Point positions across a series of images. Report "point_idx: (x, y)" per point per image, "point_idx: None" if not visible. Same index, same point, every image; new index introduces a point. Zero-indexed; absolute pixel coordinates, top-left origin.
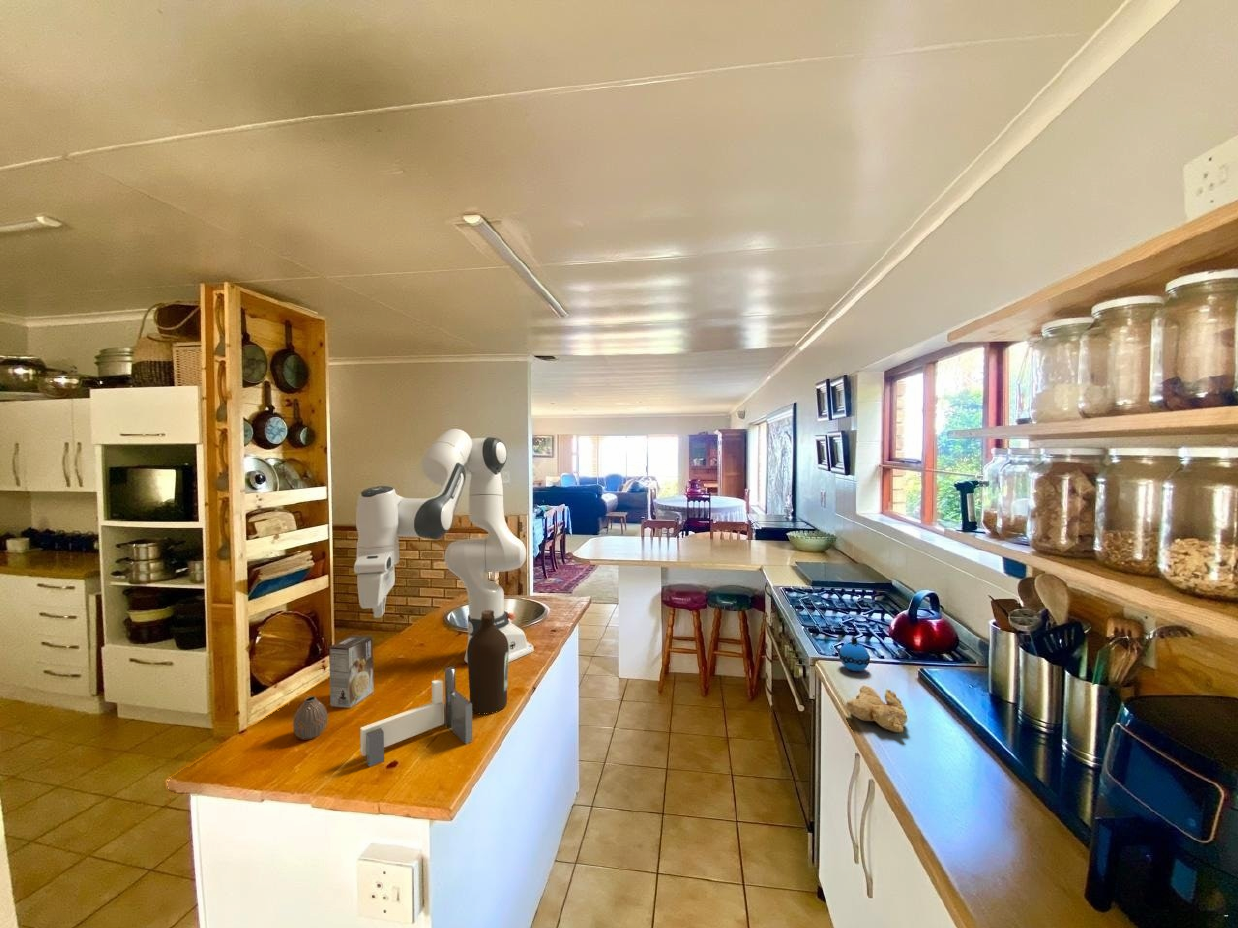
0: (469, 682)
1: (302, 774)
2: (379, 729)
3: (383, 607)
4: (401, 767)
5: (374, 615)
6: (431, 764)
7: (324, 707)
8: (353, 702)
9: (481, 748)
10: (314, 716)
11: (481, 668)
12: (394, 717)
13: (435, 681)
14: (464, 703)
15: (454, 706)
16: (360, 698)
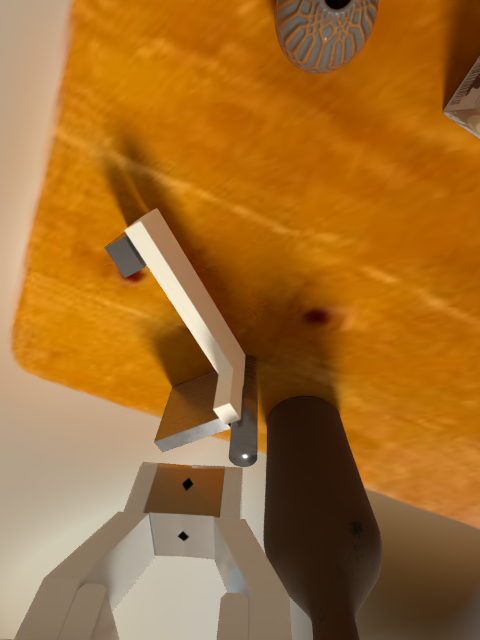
0: (303, 438)
1: (123, 75)
2: (137, 266)
3: (194, 556)
4: (119, 289)
5: (139, 474)
6: (120, 337)
7: (332, 57)
8: (457, 119)
9: (154, 408)
10: (287, 36)
11: (268, 497)
12: (176, 295)
13: (227, 410)
14: (164, 440)
15: (207, 407)
16: (478, 136)
